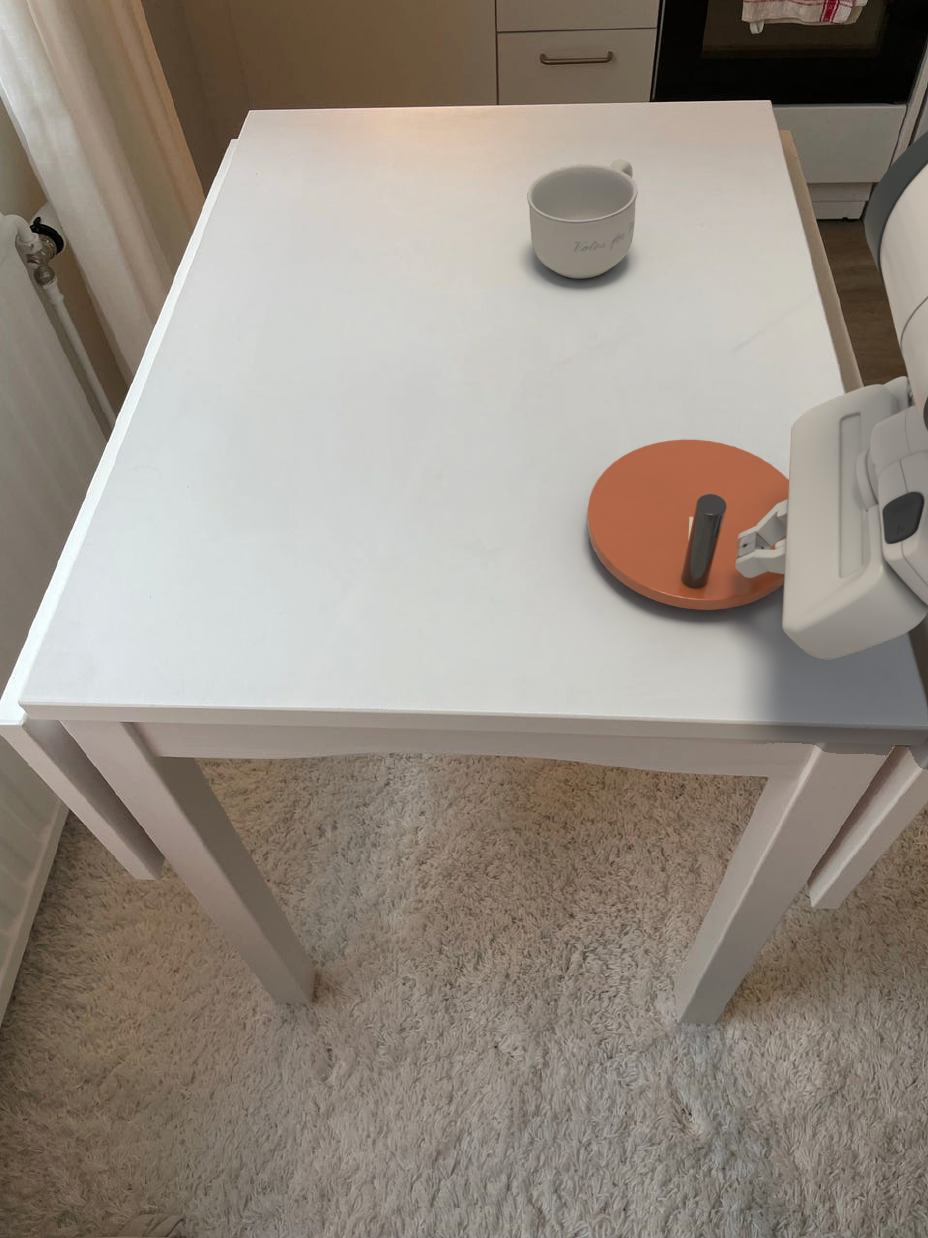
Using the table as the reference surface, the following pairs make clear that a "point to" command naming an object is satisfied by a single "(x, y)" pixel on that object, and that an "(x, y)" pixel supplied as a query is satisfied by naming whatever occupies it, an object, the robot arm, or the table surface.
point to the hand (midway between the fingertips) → (741, 557)
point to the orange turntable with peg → (684, 521)
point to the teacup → (583, 217)
